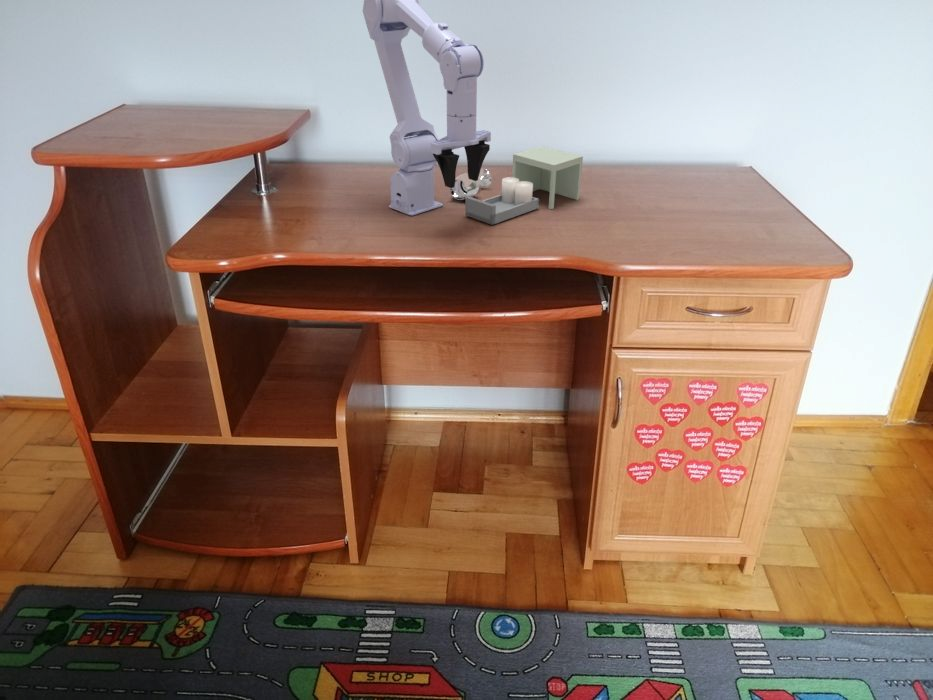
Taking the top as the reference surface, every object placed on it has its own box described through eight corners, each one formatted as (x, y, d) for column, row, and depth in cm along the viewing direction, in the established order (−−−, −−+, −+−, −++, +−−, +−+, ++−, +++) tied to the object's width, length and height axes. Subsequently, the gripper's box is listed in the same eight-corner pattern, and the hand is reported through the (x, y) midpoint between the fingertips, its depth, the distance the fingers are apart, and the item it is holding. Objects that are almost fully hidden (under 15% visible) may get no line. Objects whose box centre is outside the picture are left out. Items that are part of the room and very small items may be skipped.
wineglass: (488, 194, 169) (463, 207, 160) (469, 181, 170) (444, 193, 161) (498, 174, 165) (473, 185, 156) (478, 160, 166) (453, 171, 157)
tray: (492, 224, 147) (492, 198, 144) (465, 215, 152) (465, 189, 149) (538, 208, 156) (540, 182, 153) (512, 199, 161) (513, 175, 158)
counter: (551, 209, 156) (554, 165, 151) (511, 196, 163) (513, 154, 158) (579, 199, 162) (582, 156, 157) (539, 187, 169) (541, 146, 164)
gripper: (448, 123, 128) (448, 195, 135) (502, 111, 137) (500, 179, 144) (422, 117, 132) (424, 187, 139) (476, 105, 141) (476, 172, 148)
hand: (461, 183), depth 142 cm, fingers open, 6 cm apart
